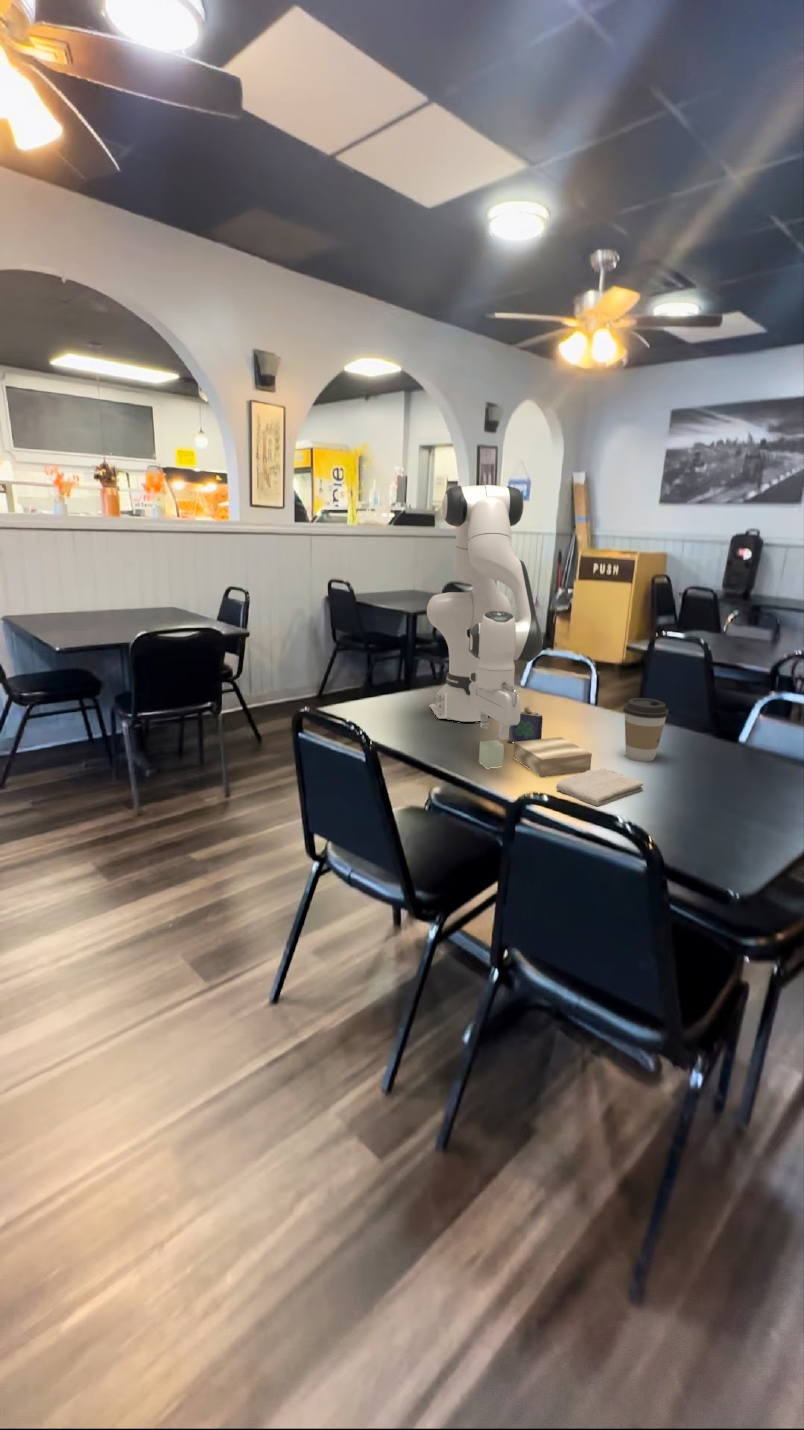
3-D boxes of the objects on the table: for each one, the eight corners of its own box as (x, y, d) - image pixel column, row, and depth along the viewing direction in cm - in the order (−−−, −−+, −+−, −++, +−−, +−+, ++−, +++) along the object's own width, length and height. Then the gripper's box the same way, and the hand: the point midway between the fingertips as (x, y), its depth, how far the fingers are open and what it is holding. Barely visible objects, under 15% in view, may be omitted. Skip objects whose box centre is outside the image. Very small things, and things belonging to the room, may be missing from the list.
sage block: (478, 763, 171) (479, 741, 169) (494, 761, 172) (495, 739, 171) (486, 769, 167) (487, 747, 165) (502, 767, 168) (504, 745, 166)
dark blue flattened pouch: (507, 742, 187) (509, 705, 184) (509, 739, 190) (512, 703, 187) (539, 747, 184) (542, 710, 181) (542, 744, 186) (545, 707, 183)
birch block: (513, 760, 175) (514, 741, 173) (559, 754, 179) (560, 737, 178) (540, 778, 162) (542, 759, 161) (590, 772, 167) (591, 753, 165)
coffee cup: (666, 766, 171) (673, 709, 167) (620, 762, 173) (626, 706, 169) (659, 752, 181) (666, 698, 177) (615, 748, 184) (621, 695, 179)
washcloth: (645, 791, 156) (646, 779, 155) (597, 810, 145) (599, 796, 144) (602, 776, 165) (603, 764, 164) (554, 792, 154) (555, 780, 153)
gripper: (528, 687, 154) (525, 744, 158) (488, 670, 173) (486, 722, 177) (504, 689, 152) (501, 746, 156) (466, 672, 171) (464, 724, 175)
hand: (493, 733), depth 166 cm, fingers open, 8 cm apart
